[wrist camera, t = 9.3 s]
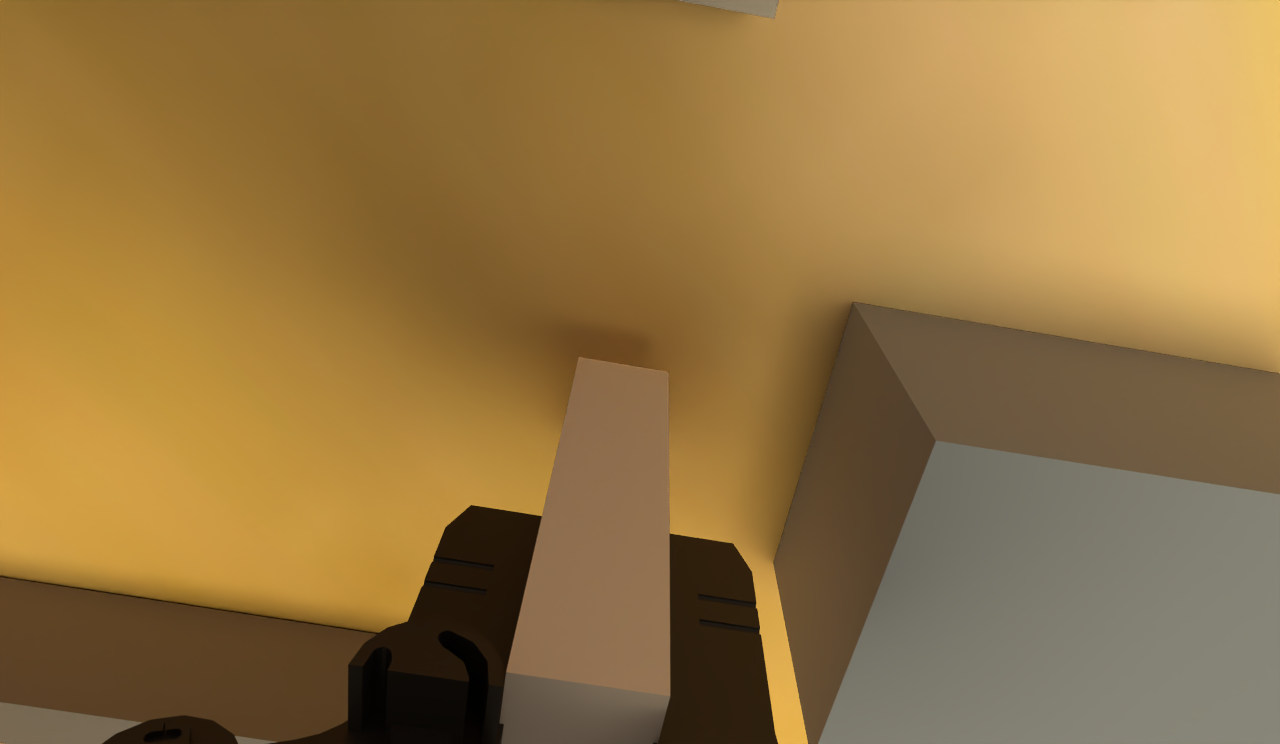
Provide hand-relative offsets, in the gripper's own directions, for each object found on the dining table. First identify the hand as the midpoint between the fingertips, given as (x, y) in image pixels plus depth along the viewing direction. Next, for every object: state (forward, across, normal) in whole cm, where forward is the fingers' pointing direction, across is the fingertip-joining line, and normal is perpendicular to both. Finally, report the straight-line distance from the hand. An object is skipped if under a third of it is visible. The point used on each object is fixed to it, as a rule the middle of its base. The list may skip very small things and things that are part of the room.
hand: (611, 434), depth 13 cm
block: (+2, +8, 0) cm, 8 cm away
